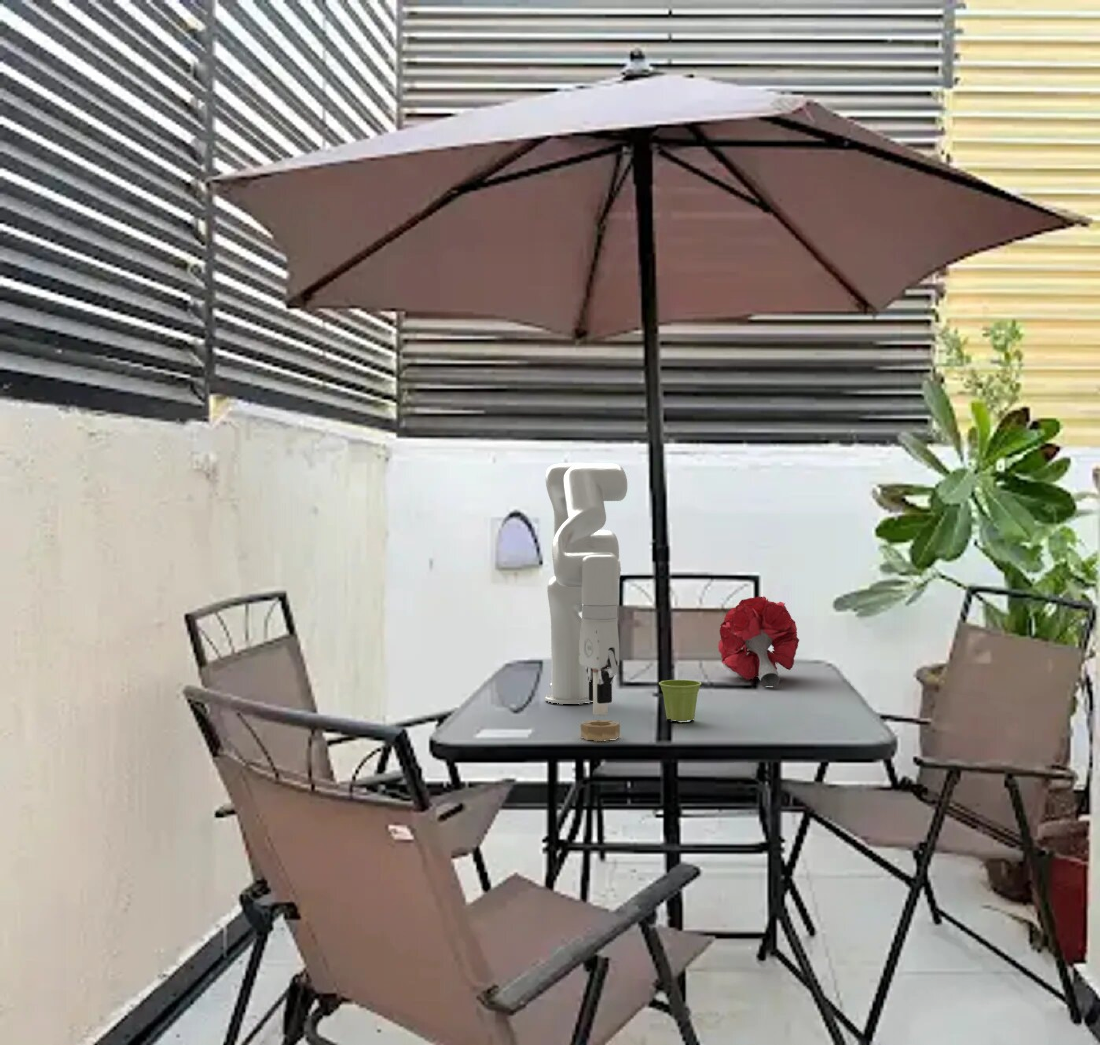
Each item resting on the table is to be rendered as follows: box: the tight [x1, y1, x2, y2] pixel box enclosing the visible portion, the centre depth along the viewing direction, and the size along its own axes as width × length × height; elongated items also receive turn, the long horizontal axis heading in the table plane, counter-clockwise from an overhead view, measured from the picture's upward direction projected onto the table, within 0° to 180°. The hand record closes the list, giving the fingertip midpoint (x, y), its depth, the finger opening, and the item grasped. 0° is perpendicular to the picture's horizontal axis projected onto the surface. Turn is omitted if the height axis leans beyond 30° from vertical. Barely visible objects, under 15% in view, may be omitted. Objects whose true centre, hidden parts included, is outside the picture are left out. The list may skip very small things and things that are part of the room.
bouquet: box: [717, 596, 800, 687], centre depth 326 cm, size 22×24×30 cm
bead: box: [580, 719, 621, 742], centre depth 249 cm, size 8×8×3 cm
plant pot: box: [658, 679, 702, 721], centre depth 268 cm, size 9×9×9 cm
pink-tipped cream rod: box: [592, 666, 609, 716], centre depth 249 cm, size 3×3×10 cm
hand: (600, 700), depth 249 cm, fingers closed on pink-tipped cream rod, 3 cm apart
